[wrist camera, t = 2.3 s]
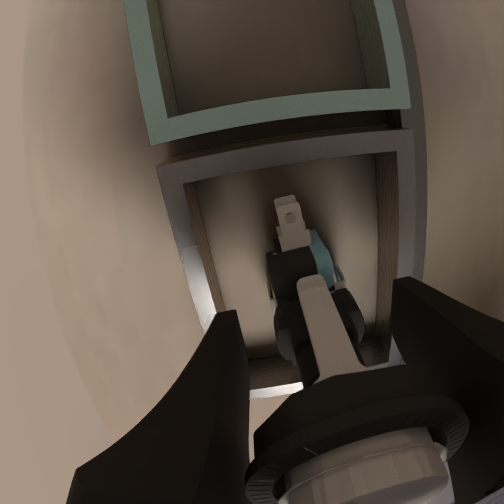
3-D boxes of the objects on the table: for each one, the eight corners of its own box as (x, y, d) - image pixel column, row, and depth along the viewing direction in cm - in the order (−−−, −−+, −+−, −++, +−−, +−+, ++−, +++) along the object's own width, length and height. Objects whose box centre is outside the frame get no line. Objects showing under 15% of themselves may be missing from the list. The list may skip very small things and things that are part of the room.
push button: (215, 209, 12) (168, 468, 3) (350, 176, 12) (548, 351, 3) (257, 340, 15) (274, 551, 6) (365, 313, 15) (452, 501, 6)
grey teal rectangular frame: (350, -107, 6) (364, -128, 4) (402, 338, 16) (417, 362, 14) (128, -86, 6) (114, -107, 5) (229, 372, 16) (228, 402, 14)
